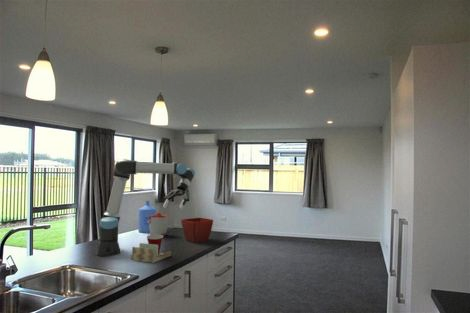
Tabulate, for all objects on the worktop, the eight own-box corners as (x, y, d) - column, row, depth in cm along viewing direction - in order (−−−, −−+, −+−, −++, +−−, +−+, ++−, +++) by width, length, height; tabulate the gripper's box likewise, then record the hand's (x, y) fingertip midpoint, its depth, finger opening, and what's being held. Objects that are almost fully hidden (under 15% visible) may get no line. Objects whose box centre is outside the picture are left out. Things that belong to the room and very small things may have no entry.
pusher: (139, 255, 221) (139, 243, 221) (140, 255, 222) (140, 243, 222) (157, 258, 215) (157, 245, 216) (157, 257, 216) (158, 244, 217)
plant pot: (180, 240, 277) (180, 219, 277) (199, 237, 289) (199, 217, 290) (193, 244, 262) (194, 222, 263) (213, 241, 275) (213, 219, 276)
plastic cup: (146, 256, 220) (146, 237, 221) (145, 252, 231) (146, 234, 231) (163, 255, 223) (163, 237, 224) (162, 251, 234) (162, 233, 234)
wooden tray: (130, 259, 216) (131, 247, 216) (149, 253, 233) (149, 241, 234) (153, 262, 209) (153, 249, 209) (170, 255, 227) (171, 243, 227)
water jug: (134, 232, 313) (135, 201, 314) (146, 229, 327) (147, 199, 328) (147, 233, 306) (148, 201, 307) (159, 230, 320) (159, 200, 321)
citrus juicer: (145, 235, 299) (145, 211, 300) (165, 233, 306) (165, 211, 307) (148, 238, 285) (149, 213, 286) (169, 236, 292) (169, 212, 293)
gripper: (199, 189, 256) (189, 211, 241) (171, 188, 265) (159, 210, 251) (196, 182, 251) (185, 205, 237) (167, 181, 261) (155, 203, 246)
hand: (172, 207), depth 244 cm, fingers open, 13 cm apart
